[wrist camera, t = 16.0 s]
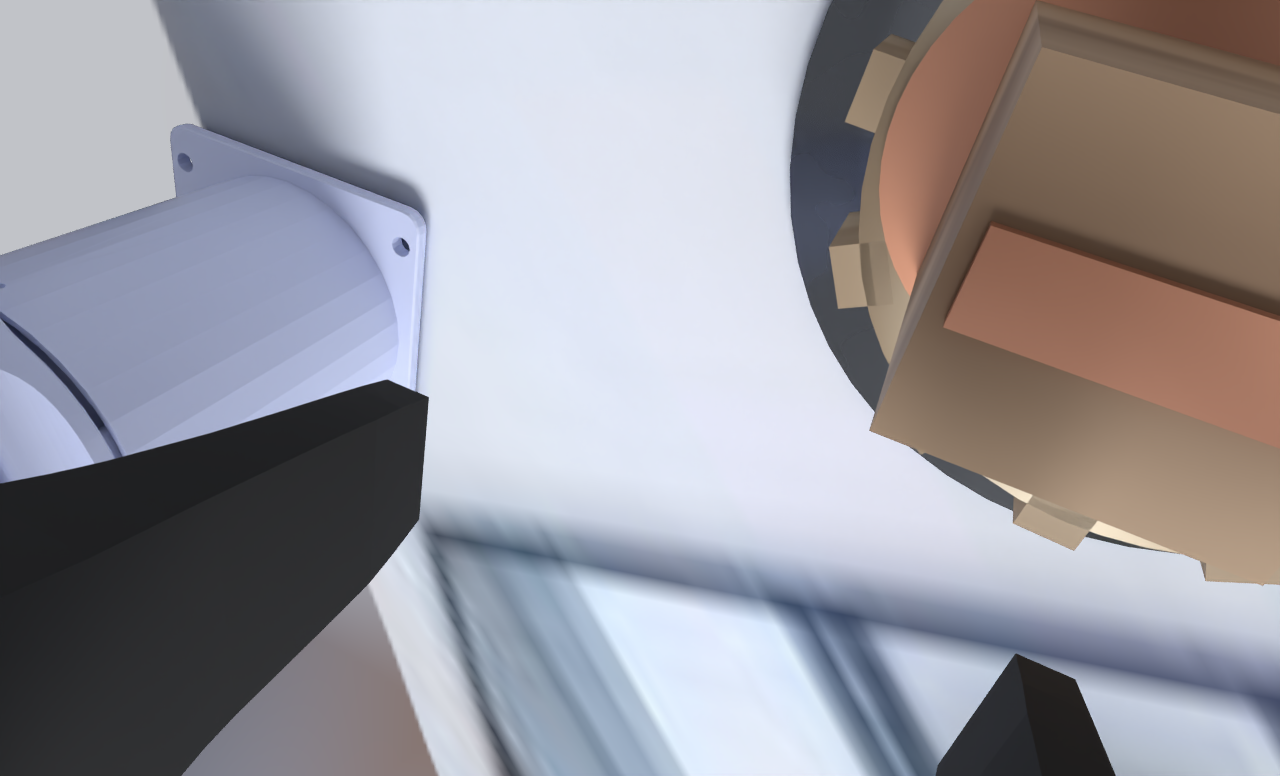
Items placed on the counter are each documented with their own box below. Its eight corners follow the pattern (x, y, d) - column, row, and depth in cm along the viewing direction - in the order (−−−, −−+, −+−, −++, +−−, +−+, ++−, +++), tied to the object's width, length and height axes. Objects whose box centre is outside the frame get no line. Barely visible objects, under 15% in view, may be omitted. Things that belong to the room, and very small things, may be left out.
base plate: (1406, 659, 18) (1435, 715, 16) (712, 385, 21) (693, 414, 20) (2422, -270, 9) (2641, -298, 8) (978, -487, 12) (974, -531, 11)
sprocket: (889, 506, 20) (852, 665, 16) (804, -116, 15) (715, -131, 11) (1687, 521, 14) (1966, 777, 10) (1994, -482, 9) (2834, -829, 5)
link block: (1186, 368, 14) (1266, 594, 9) (917, 274, 15) (867, 437, 10) (1373, 91, 11) (1613, 210, 7) (1036, 0, 12) (1042, 48, 8)
